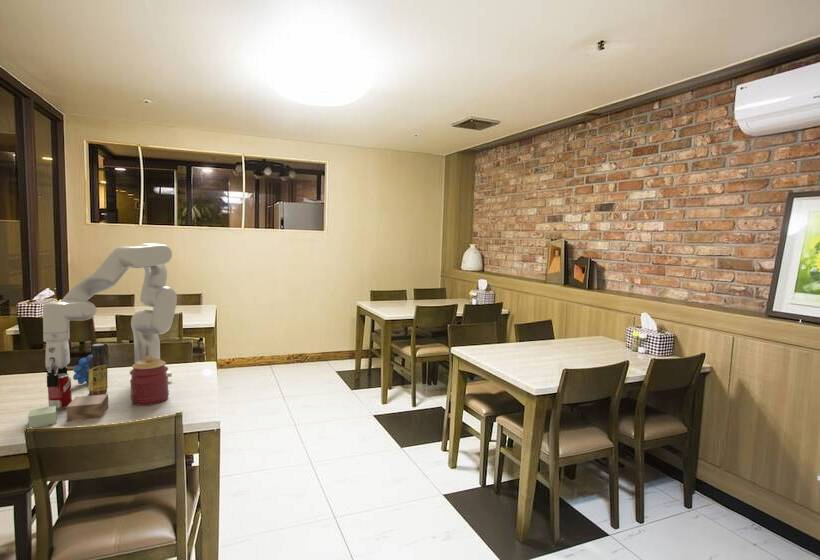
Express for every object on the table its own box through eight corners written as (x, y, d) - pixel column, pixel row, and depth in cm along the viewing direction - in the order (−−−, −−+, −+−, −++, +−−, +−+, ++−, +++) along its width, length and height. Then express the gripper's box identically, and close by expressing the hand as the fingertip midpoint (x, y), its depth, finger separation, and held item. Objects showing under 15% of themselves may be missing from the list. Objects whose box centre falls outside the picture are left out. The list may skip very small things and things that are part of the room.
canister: (128, 398, 179) (127, 354, 177) (165, 391, 186) (164, 349, 185) (132, 408, 168) (131, 361, 167) (171, 401, 176) (170, 356, 175)
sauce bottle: (93, 397, 178) (91, 347, 177) (85, 394, 182) (83, 345, 180) (111, 392, 184) (109, 344, 182) (103, 389, 187) (102, 342, 185)
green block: (56, 416, 159) (55, 405, 159) (56, 423, 154) (55, 412, 153) (30, 421, 155) (29, 409, 155) (29, 428, 149) (28, 416, 149)
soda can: (59, 411, 164) (57, 379, 162) (44, 409, 165) (42, 377, 164) (76, 405, 170) (75, 373, 169) (61, 403, 172) (60, 372, 170)
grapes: (96, 377, 202) (95, 351, 201) (105, 379, 200) (104, 353, 198) (67, 385, 192) (66, 357, 191) (77, 387, 189) (76, 359, 188)
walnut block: (108, 407, 169) (107, 394, 168) (101, 417, 160) (101, 403, 159) (76, 410, 165) (75, 396, 165) (67, 420, 156) (66, 406, 155)
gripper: (61, 340, 158) (62, 388, 159) (76, 331, 174) (77, 375, 175) (34, 341, 155) (35, 390, 157) (52, 332, 171) (53, 376, 173)
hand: (57, 382), depth 166 cm, fingers open, 9 cm apart
